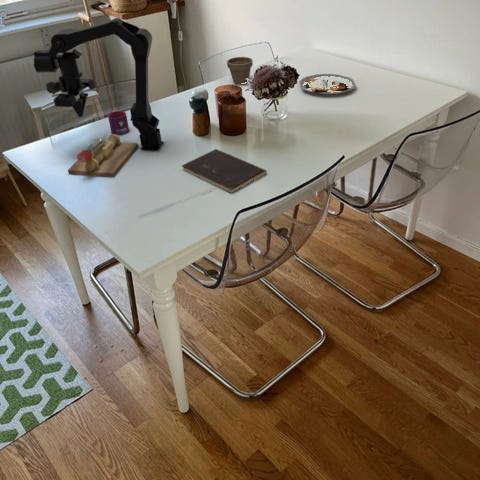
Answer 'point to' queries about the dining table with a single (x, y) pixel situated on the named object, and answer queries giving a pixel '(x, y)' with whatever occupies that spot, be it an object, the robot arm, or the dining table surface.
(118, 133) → the mug
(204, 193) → the butter knife
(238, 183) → the hardcover book
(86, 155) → the lever
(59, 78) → the robot arm
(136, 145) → the valve board
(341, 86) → the food plate
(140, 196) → the dining table surface
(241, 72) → the flower pot
